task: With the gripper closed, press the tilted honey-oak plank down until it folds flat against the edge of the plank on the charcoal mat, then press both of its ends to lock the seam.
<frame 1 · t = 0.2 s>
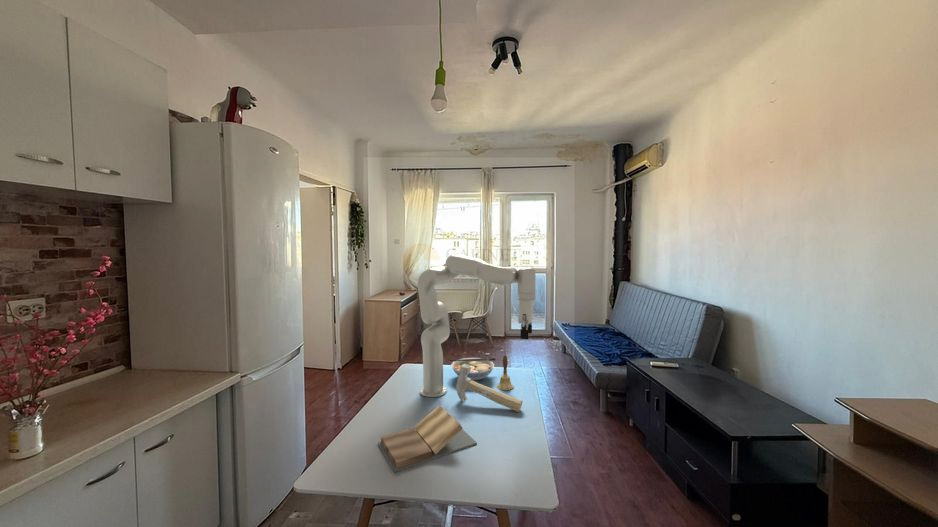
hand: (526, 335, 149), 31 cm above the table, tool pointing down, fingers open, 9 cm apart
floor section: (427, 444, 123), on the table
ramen bowl: (472, 378, 183), on the table
hand bell: (505, 387, 172), on the table
hammer: (488, 405, 152), on the table
oak plank: (437, 427, 124), point 5 cm above the table, hinge at 30.0°
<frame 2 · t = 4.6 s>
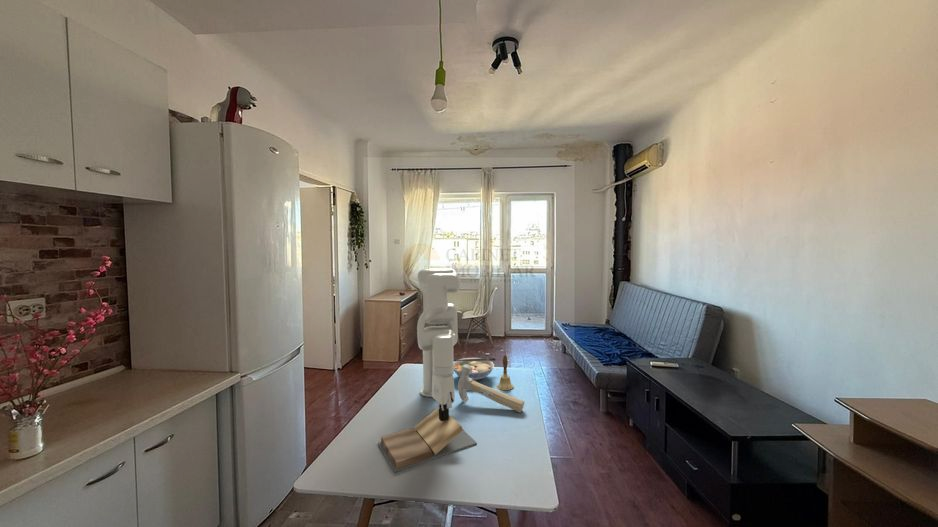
hand: (443, 419, 125), 8 cm above the table, tool pointing down, fingers closed
oak plank: (437, 428, 125), point 5 cm above the table, hinge at 26.9°, touching gripper
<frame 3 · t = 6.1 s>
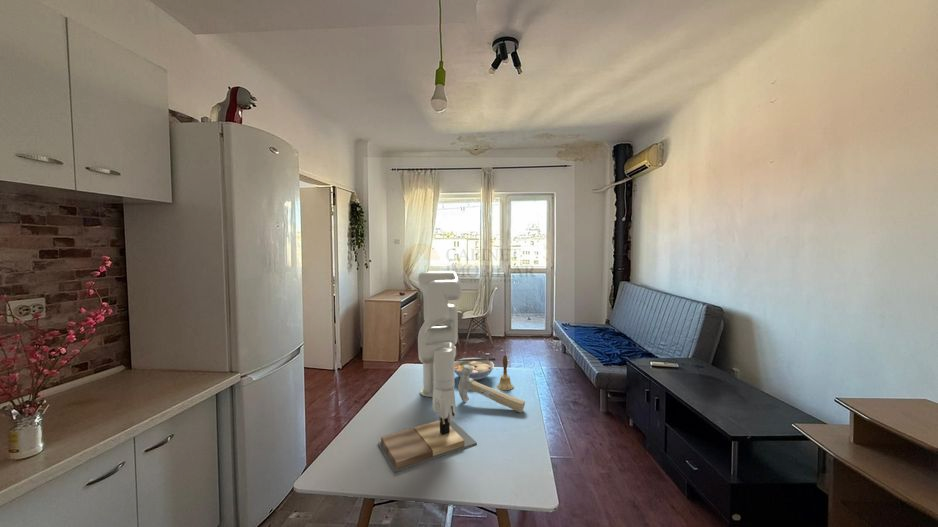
hand: (444, 432, 125), 3 cm above the table, tool pointing down, fingers closed
oak plank: (438, 436, 125), point 2 cm above the table, hinge at -0.5°, touching gripper
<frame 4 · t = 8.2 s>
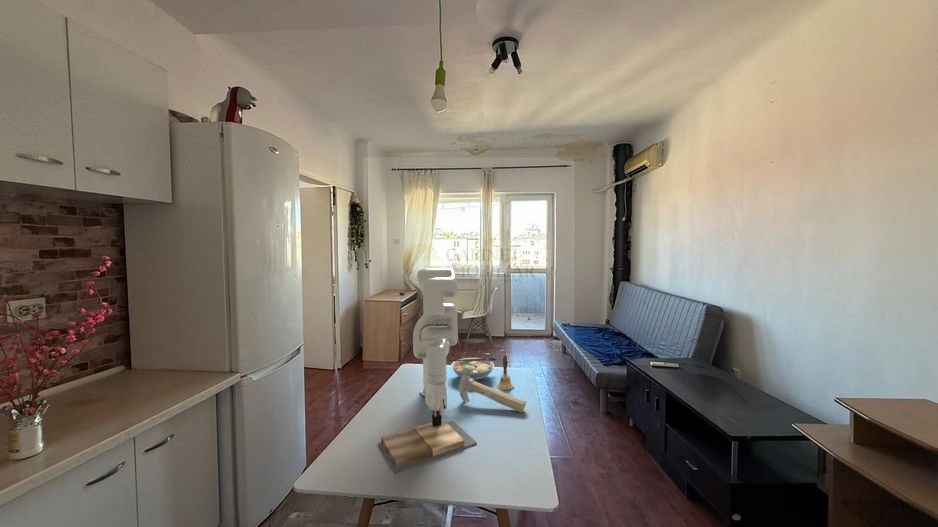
hand: (436, 424, 131), 3 cm above the table, tool pointing down, fingers closed
oak plank: (438, 436, 125), point 2 cm above the table, hinge at -0.5°, touching floor section, gripper
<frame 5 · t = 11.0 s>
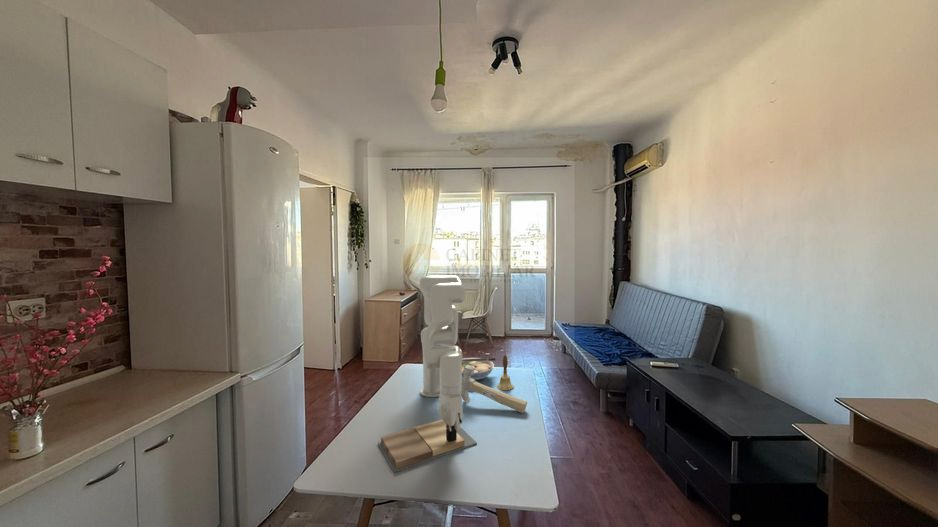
hand: (451, 440, 120), 3 cm above the table, tool pointing down, fingers closed
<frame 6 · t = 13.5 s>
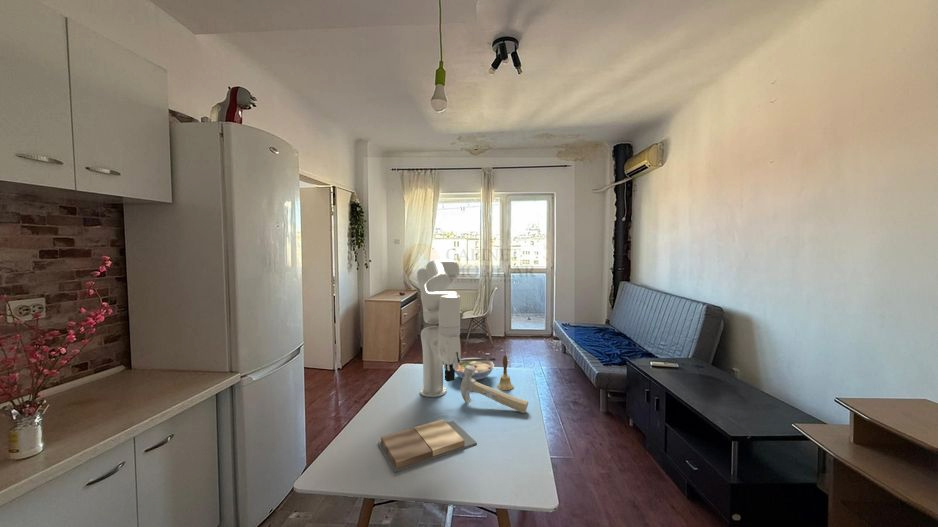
hand: (449, 380, 124), 22 cm above the table, tool pointing down, fingers closed
oak plank: (438, 436, 125), point 2 cm above the table, hinge at -0.5°, touching floor section
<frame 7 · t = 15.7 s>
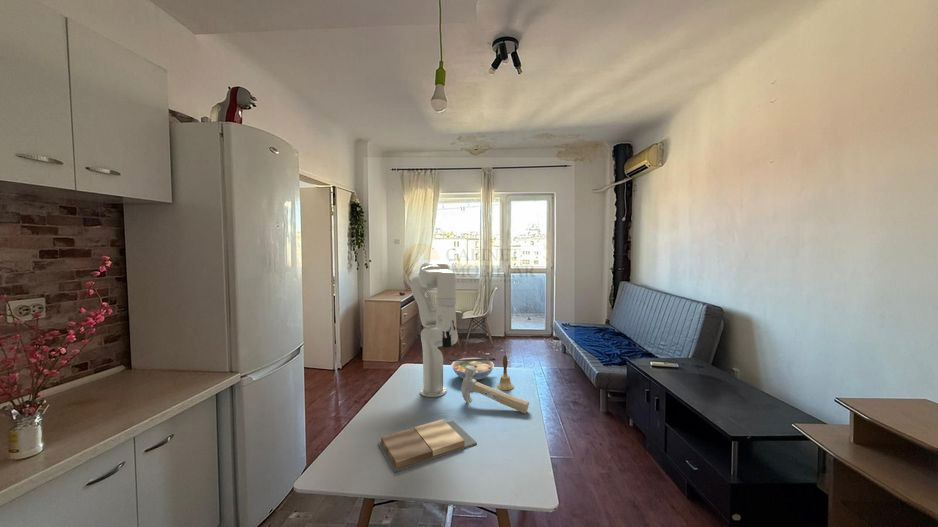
hand: (446, 346, 141), 29 cm above the table, tool pointing down, fingers closed
at the end: oak plank at +0° (first picture: +30°) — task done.
